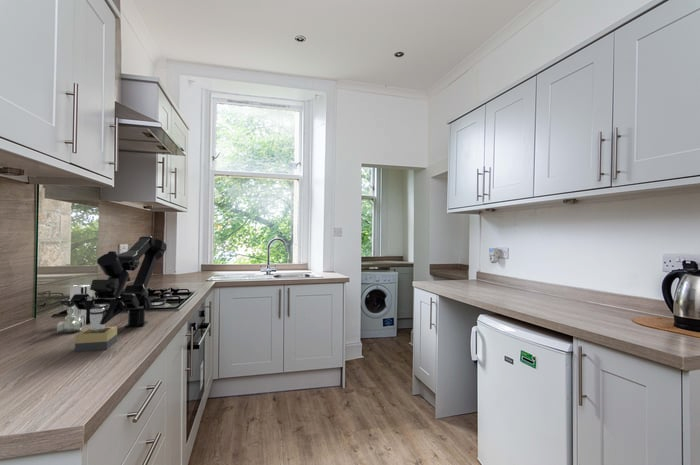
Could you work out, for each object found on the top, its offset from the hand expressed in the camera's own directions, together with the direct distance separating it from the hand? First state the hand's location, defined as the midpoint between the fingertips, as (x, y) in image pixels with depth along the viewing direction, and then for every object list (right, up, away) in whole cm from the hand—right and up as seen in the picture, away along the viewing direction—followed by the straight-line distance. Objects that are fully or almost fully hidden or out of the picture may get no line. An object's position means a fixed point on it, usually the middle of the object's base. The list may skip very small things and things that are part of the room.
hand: (94, 324), depth 106 cm
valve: (-22, -8, +16) cm, 28 cm away
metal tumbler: (0, -7, +1) cm, 7 cm away
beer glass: (-27, -7, +28) cm, 40 cm away
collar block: (0, -7, +1) cm, 8 cm away
